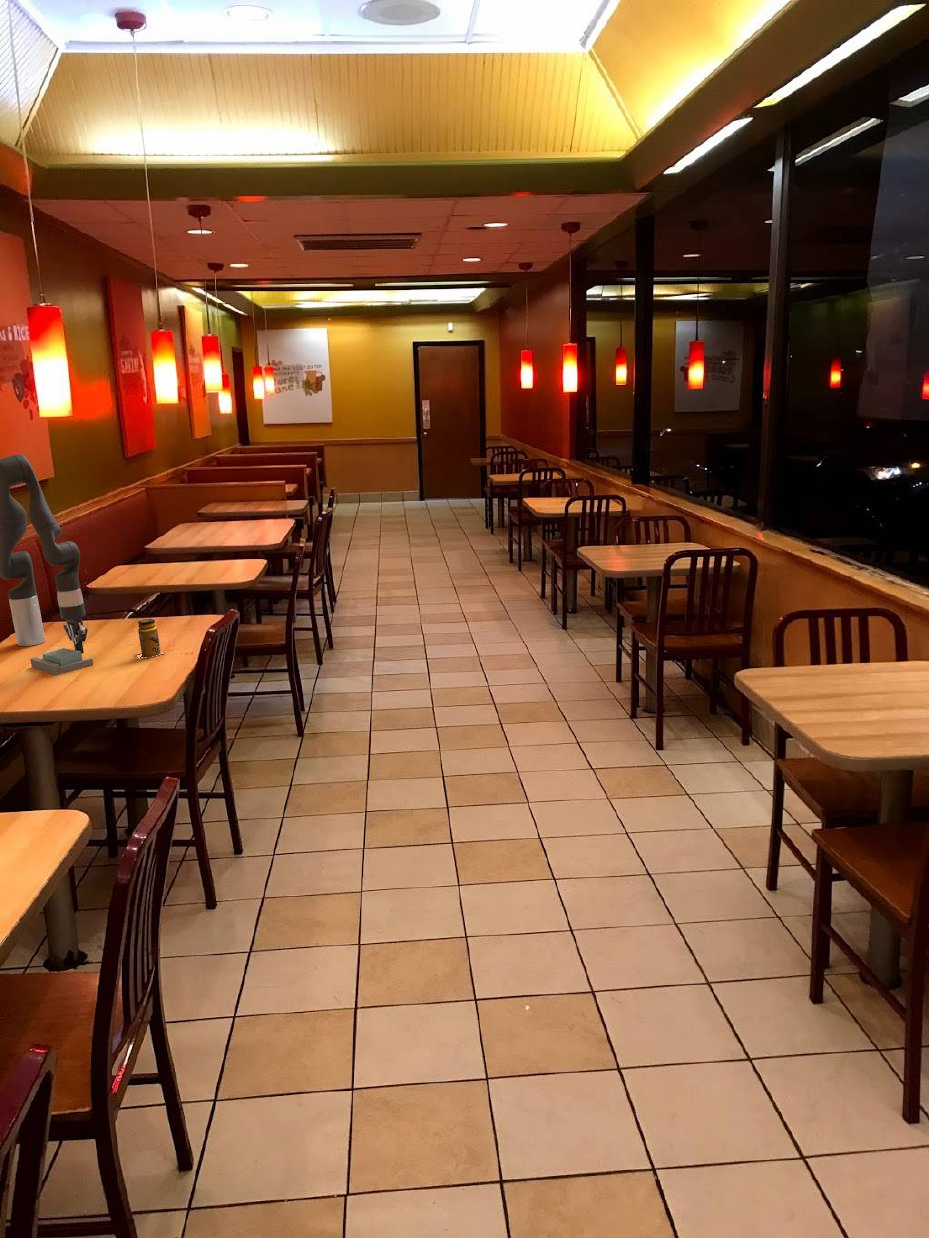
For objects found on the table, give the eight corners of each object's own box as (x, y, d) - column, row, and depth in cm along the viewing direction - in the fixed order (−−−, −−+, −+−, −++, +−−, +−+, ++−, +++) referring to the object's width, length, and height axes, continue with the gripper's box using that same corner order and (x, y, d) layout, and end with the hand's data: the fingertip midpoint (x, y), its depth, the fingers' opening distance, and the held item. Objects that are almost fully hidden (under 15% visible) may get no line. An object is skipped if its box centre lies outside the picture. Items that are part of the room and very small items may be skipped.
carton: (44, 668, 302) (42, 654, 301) (65, 662, 308) (63, 648, 306) (62, 672, 296) (60, 657, 295) (83, 666, 302) (81, 651, 301)
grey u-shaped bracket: (31, 667, 304) (30, 658, 303) (70, 657, 313) (68, 648, 312) (54, 675, 293) (52, 666, 292) (93, 664, 302) (92, 655, 301)
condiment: (164, 654, 308) (159, 620, 305) (138, 660, 304) (133, 625, 301) (158, 650, 314) (153, 616, 311) (133, 655, 310) (127, 621, 307)
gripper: (50, 603, 304) (59, 653, 309) (68, 608, 295) (78, 659, 300) (72, 598, 309) (81, 647, 314) (91, 602, 301) (100, 653, 305)
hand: (79, 653), depth 307 cm, fingers closed
